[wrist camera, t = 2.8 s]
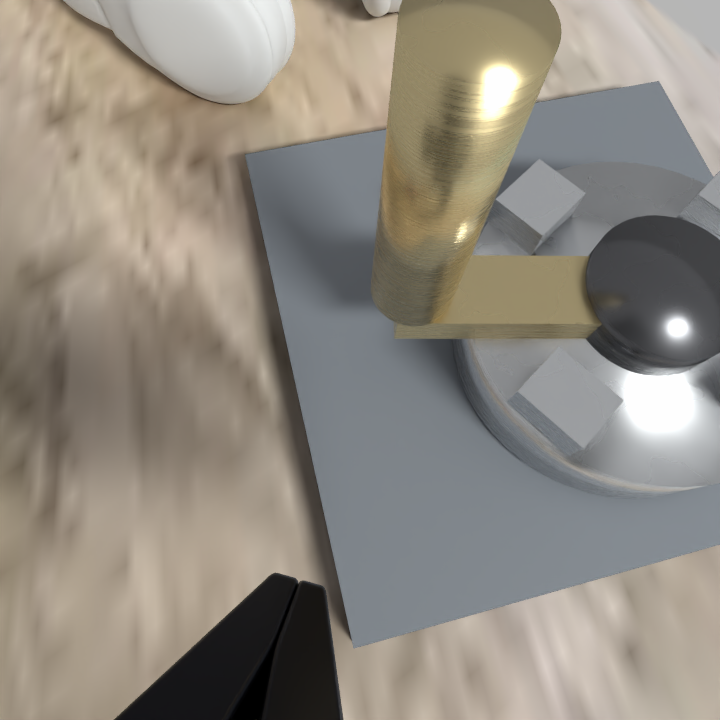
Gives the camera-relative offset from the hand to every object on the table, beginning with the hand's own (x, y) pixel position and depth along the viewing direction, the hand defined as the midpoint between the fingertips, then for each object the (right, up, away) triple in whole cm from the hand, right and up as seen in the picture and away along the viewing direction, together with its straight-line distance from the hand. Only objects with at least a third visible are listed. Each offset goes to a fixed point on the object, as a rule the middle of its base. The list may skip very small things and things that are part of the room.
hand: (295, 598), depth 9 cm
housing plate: (+8, +5, +15) cm, 18 cm away
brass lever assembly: (+9, +4, +13) cm, 16 cm away
